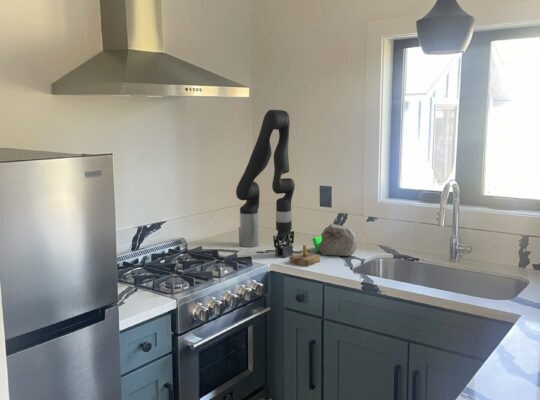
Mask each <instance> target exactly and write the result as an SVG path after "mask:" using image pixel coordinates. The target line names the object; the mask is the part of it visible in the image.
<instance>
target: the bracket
mask: <svg viewBox="0 0 540 400" xmlns="http://www.w3.org/2000/svg"><path fill="white" fill-rule="evenodd" d="M321 241H322V236H314V237H313V238H312V243H313V246H314V249H315V250H316V251H317V252H320V251H319V248H318V244H319V243H321ZM320 253H321V252H320Z"/></svg>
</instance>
